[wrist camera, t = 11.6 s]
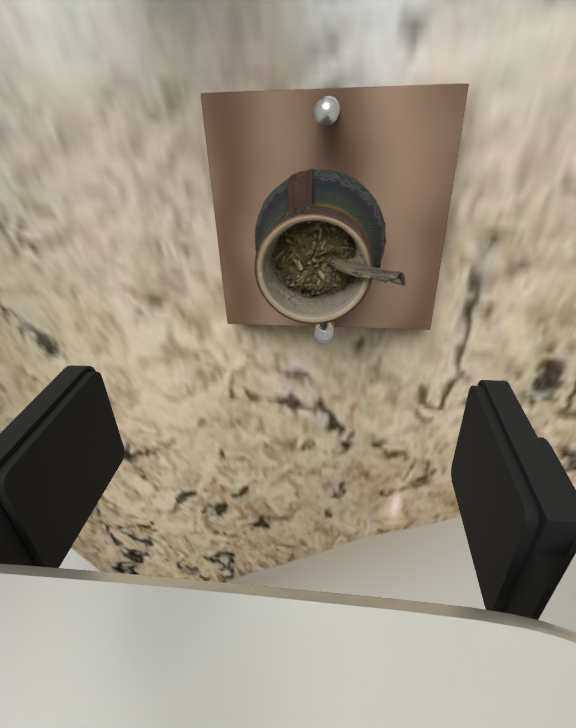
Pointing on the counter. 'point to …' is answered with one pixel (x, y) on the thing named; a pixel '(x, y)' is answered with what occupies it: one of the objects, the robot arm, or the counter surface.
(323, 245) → the mate gourd
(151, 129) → the counter surface
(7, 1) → the counter surface
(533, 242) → the counter surface
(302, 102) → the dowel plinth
